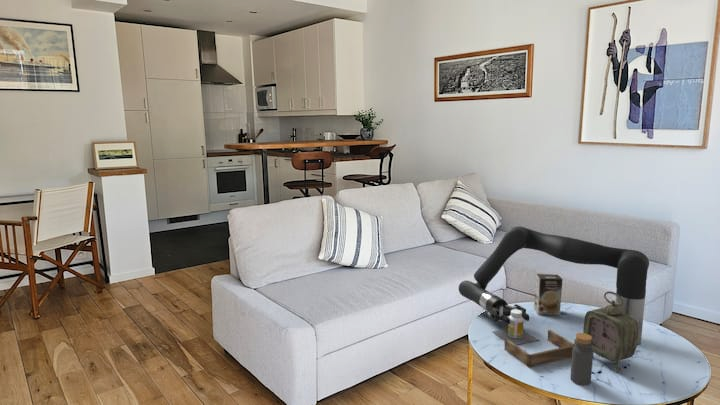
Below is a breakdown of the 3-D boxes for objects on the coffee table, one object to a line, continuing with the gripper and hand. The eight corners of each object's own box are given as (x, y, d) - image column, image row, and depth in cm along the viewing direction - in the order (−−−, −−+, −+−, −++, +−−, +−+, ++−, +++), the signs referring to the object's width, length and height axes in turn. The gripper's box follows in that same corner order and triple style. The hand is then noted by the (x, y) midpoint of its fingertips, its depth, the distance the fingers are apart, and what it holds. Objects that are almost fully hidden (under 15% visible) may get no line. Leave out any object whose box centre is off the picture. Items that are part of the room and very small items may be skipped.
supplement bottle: (522, 333, 178) (524, 309, 176) (522, 339, 173) (524, 315, 171) (507, 331, 180) (509, 307, 178) (507, 337, 175) (508, 313, 173)
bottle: (566, 375, 149) (569, 332, 146) (584, 374, 150) (587, 331, 147) (576, 386, 143) (579, 341, 141) (594, 385, 144) (598, 340, 141)
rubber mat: (492, 332, 180) (492, 331, 180) (518, 327, 184) (518, 326, 184) (512, 346, 169) (512, 345, 169) (538, 340, 173) (539, 339, 173)
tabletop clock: (581, 355, 161) (586, 287, 157) (599, 350, 165) (605, 283, 160) (618, 376, 148) (625, 302, 144) (638, 369, 152) (645, 297, 147)
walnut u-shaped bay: (504, 349, 166) (504, 339, 166) (549, 339, 173) (550, 329, 172) (528, 367, 154) (529, 356, 154) (576, 356, 161) (577, 345, 160)
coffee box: (537, 315, 194) (539, 278, 191) (533, 309, 200) (535, 273, 198) (560, 315, 193) (562, 279, 190) (555, 309, 200) (557, 274, 197)
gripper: (478, 297, 185) (503, 313, 170) (508, 292, 190) (535, 307, 175) (477, 315, 187) (502, 332, 172) (507, 310, 191) (534, 326, 176)
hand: (519, 320), depth 173 cm, fingers open, 8 cm apart
